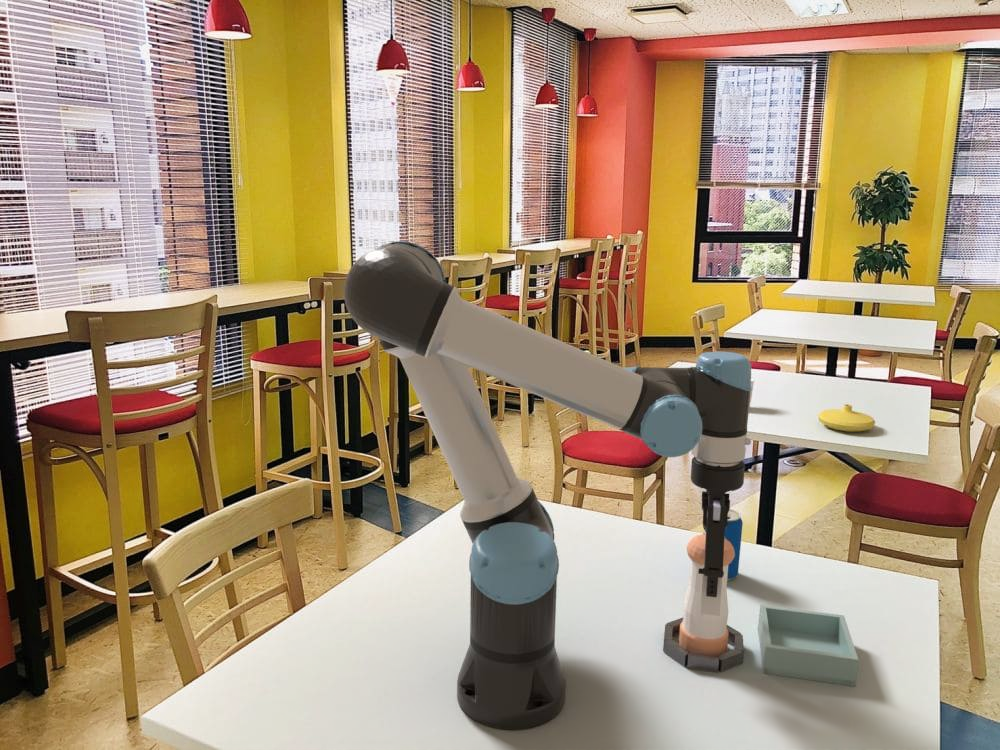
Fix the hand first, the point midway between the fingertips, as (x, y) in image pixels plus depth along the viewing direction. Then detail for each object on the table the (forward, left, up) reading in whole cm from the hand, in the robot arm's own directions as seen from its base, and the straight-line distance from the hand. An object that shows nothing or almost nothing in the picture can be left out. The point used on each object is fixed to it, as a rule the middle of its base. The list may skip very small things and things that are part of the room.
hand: (709, 591), depth 124 cm
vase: (+132, -41, -10) cm, 138 cm away
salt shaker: (0, 0, -10) cm, 10 cm away
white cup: (+144, -11, -10) cm, 145 cm away
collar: (0, 0, -10) cm, 10 cm away
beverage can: (+26, -3, -10) cm, 28 cm away
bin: (+2, -15, -10) cm, 18 cm away
